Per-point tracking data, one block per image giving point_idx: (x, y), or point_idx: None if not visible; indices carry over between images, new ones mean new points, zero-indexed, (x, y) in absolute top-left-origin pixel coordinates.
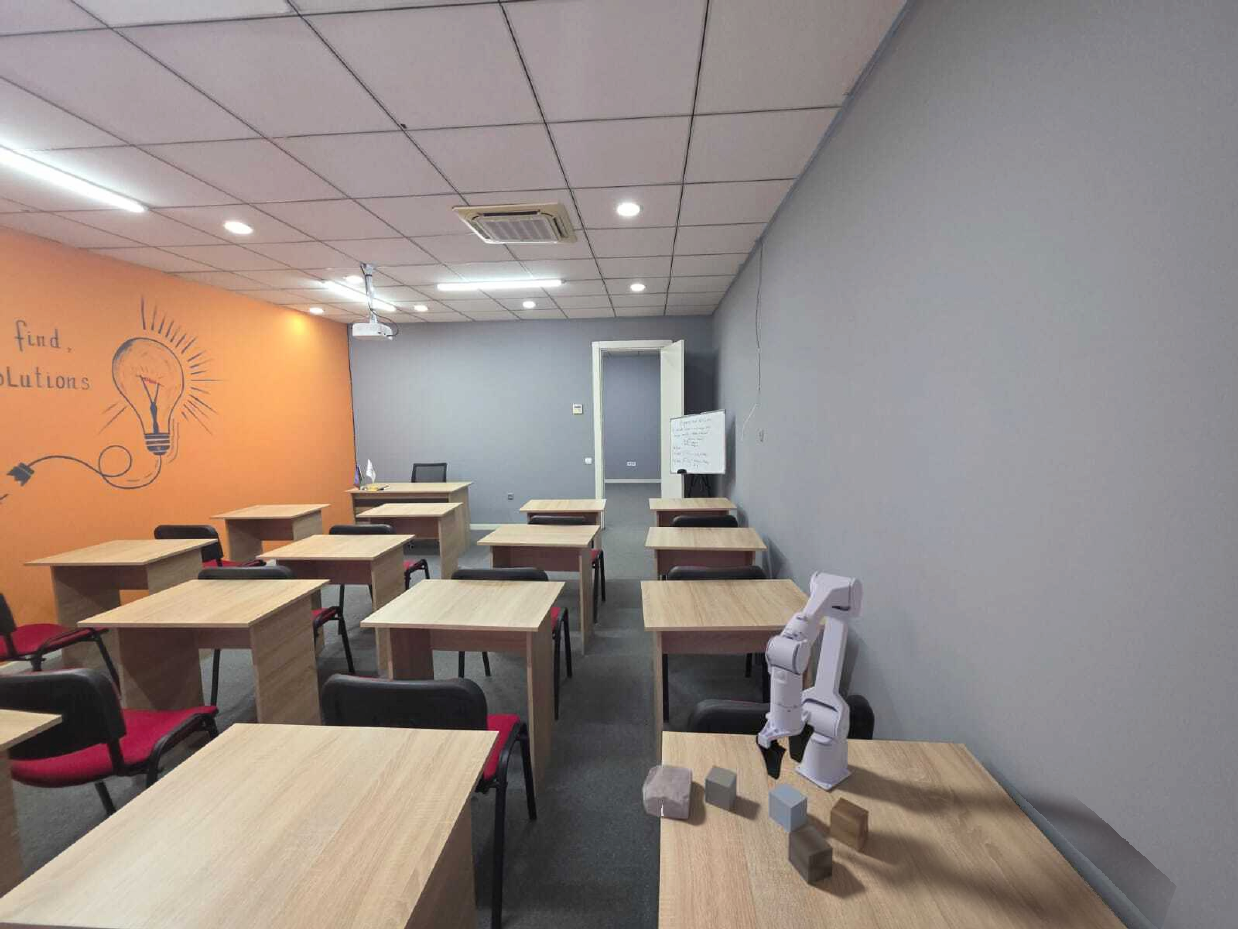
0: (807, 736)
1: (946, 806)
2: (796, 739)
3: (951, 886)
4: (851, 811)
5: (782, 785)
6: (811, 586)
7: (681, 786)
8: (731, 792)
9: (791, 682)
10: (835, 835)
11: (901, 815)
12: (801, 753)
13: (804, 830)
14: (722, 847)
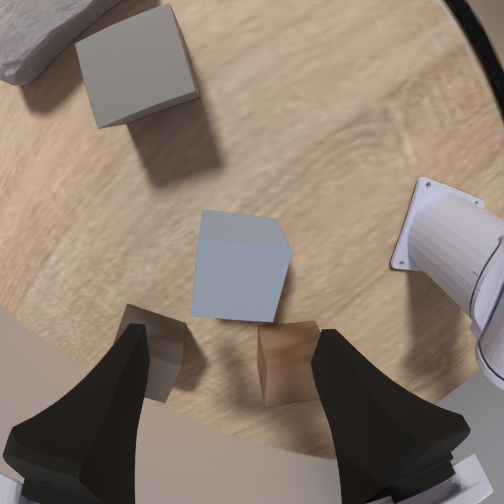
0: (342, 494)
1: (431, 373)
2: (351, 432)
3: (288, 426)
4: (298, 388)
5: (268, 251)
6: None
7: (36, 20)
8: (137, 115)
9: None
10: (259, 340)
11: (390, 360)
12: (322, 404)
13: (151, 363)
14: (34, 196)
